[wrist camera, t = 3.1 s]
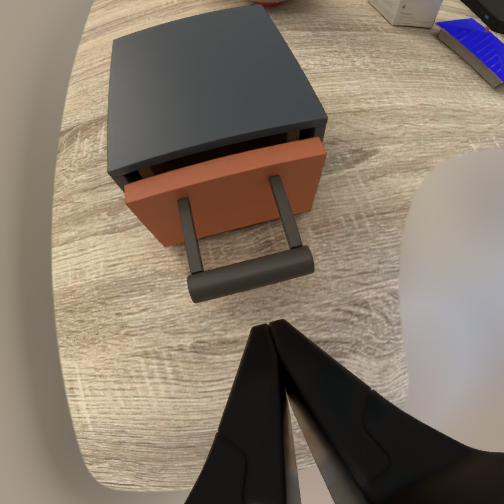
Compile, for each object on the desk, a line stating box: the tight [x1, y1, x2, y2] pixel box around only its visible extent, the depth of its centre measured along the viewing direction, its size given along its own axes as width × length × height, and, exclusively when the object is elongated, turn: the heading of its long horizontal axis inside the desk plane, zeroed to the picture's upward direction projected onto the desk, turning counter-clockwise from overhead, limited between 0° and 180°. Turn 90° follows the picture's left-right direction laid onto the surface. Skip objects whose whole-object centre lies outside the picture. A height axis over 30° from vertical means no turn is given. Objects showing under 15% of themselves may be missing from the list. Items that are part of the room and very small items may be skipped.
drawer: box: [124, 130, 327, 303], centre depth 20 cm, size 18×11×7 cm, turn 14°
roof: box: [435, 18, 504, 88], centre depth 28 cm, size 12×12×5 cm
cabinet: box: [107, 4, 328, 193], centre depth 22 cm, size 13×12×9 cm
